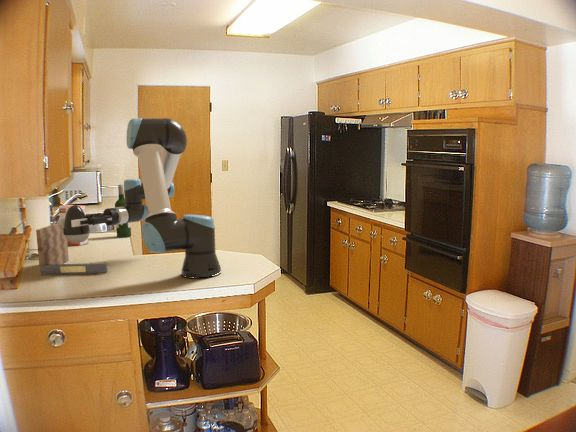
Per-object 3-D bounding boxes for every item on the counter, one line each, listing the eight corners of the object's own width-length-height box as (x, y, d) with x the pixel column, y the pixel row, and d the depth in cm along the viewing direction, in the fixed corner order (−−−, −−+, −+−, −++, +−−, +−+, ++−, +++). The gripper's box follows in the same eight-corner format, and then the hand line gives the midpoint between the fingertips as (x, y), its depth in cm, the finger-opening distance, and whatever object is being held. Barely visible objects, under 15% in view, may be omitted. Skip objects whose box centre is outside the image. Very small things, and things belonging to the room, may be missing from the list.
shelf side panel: (43, 273, 205) (39, 229, 202) (40, 273, 205) (36, 230, 202) (68, 260, 229) (65, 221, 226) (65, 260, 229) (62, 221, 226)
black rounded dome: (93, 238, 215) (90, 203, 213) (86, 243, 205) (83, 206, 203) (69, 239, 214) (65, 204, 212) (60, 244, 204) (57, 207, 202)
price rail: (105, 273, 202) (105, 263, 201) (40, 275, 202) (39, 265, 201) (107, 272, 204) (106, 262, 203) (43, 274, 204) (42, 264, 203)
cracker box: (61, 244, 272) (58, 205, 269) (71, 242, 277) (67, 204, 274) (79, 246, 265) (76, 206, 263) (88, 243, 271) (85, 205, 268)
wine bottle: (116, 236, 293) (112, 184, 289) (130, 235, 296) (126, 183, 292) (117, 238, 286) (114, 185, 282) (132, 237, 289) (128, 184, 285)
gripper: (130, 226, 215) (80, 234, 198) (102, 222, 229) (53, 229, 212) (128, 209, 214) (78, 215, 197) (101, 206, 228) (51, 211, 211)
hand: (65, 222), depth 205 cm, fingers closed on black rounded dome, 9 cm apart
